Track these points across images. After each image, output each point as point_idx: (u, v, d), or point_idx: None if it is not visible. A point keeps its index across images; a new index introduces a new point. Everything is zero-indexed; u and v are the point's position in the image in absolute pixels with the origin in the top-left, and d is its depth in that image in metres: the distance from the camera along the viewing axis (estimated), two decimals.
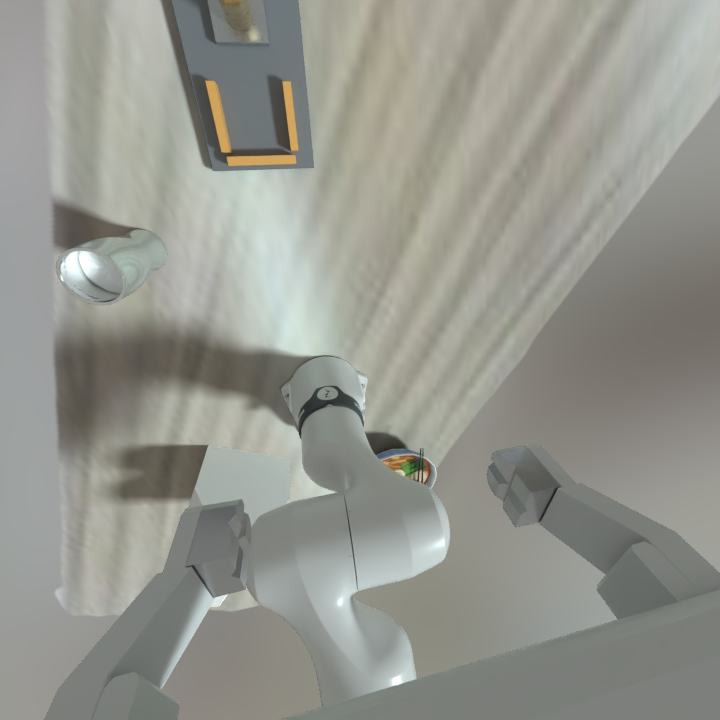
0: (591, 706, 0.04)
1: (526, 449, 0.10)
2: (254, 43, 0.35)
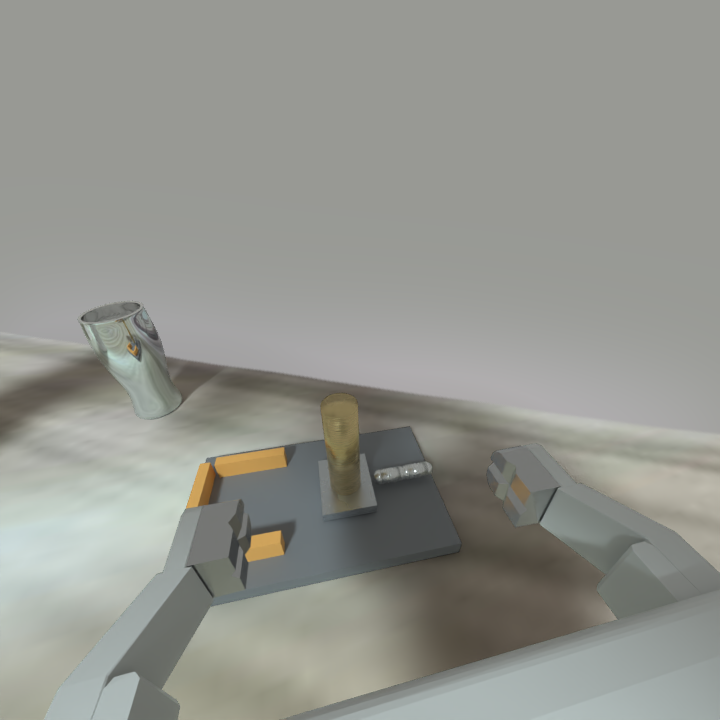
0: (591, 706, 0.04)
1: (526, 449, 0.10)
2: None
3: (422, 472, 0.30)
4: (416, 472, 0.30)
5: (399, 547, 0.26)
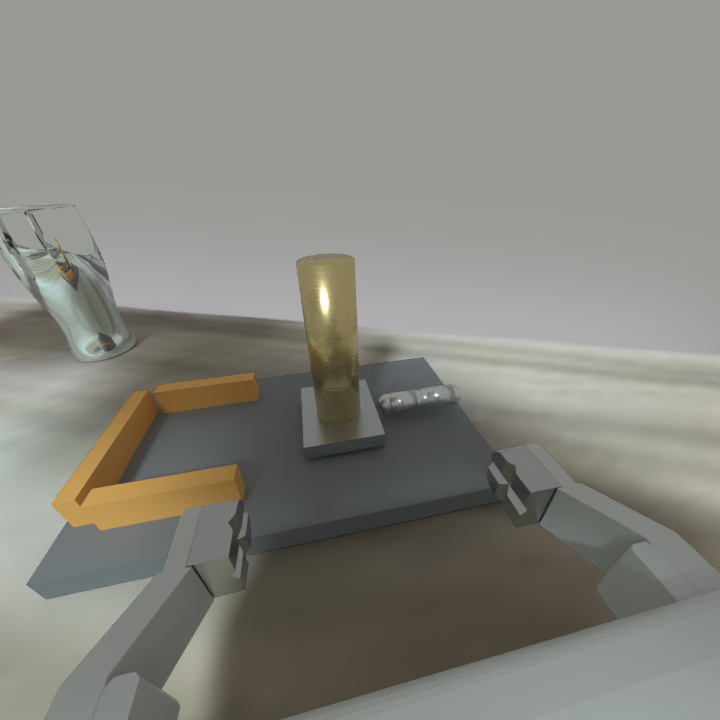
0: (591, 706, 0.04)
1: (526, 449, 0.10)
2: (303, 430, 0.19)
3: (447, 396, 0.21)
4: (439, 396, 0.21)
5: (421, 490, 0.17)
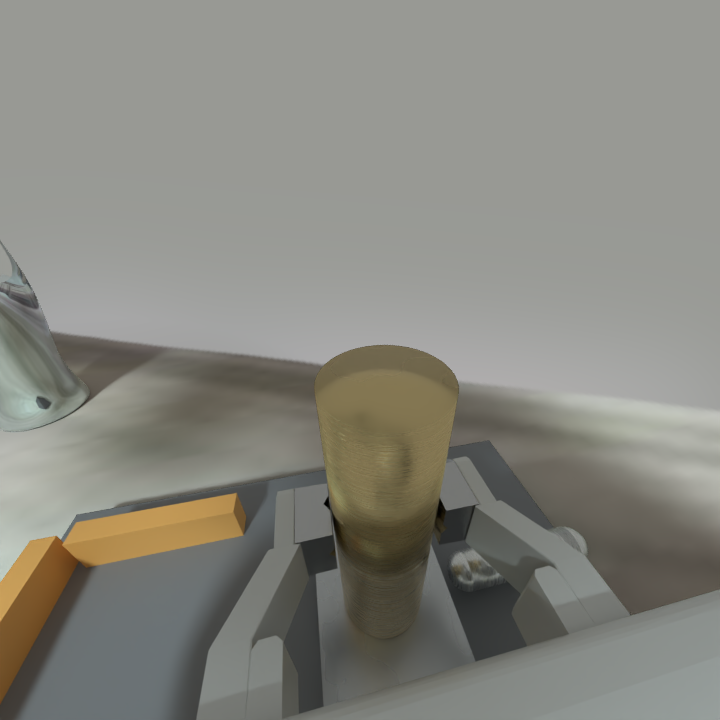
0: (591, 706, 0.04)
1: (453, 462, 0.09)
2: (321, 652, 0.10)
3: None
4: None
5: None
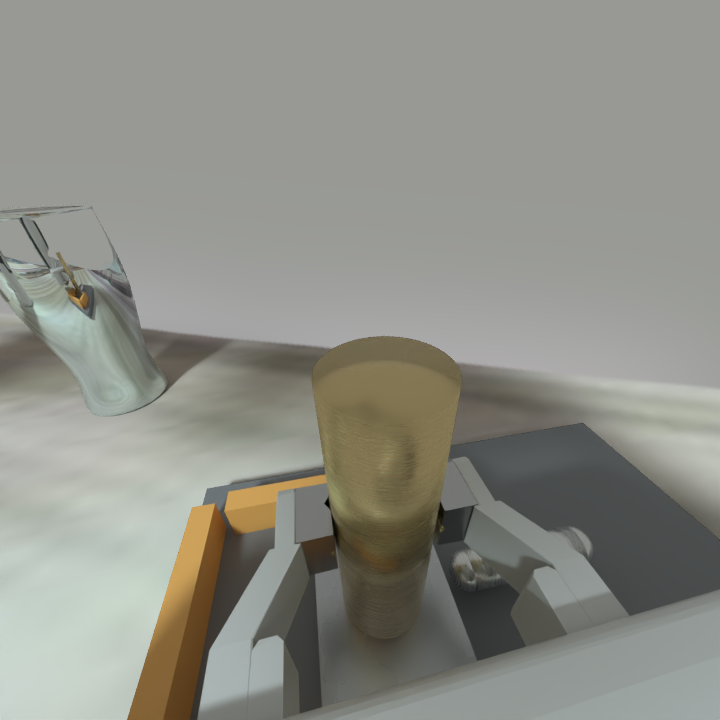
0: (591, 706, 0.04)
1: (452, 462, 0.09)
2: None
3: None
4: None
5: None
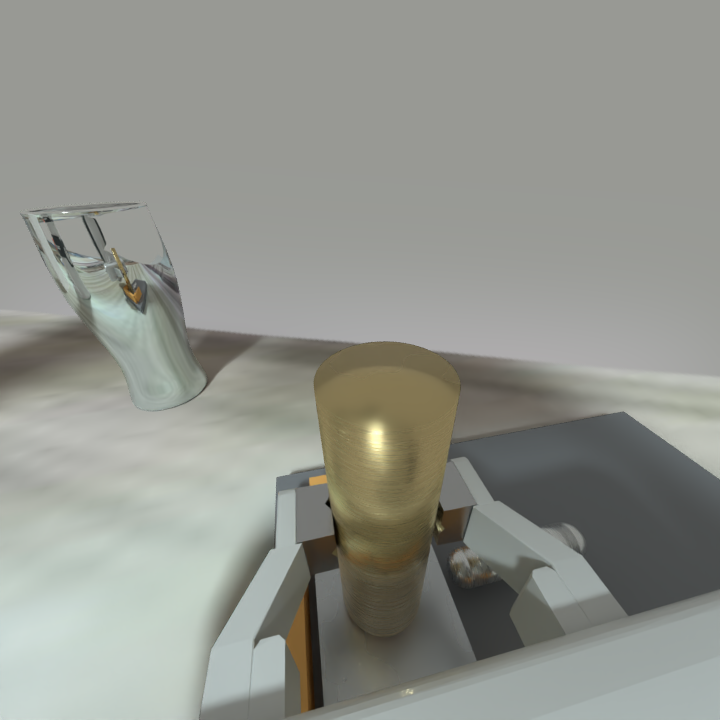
0: (591, 706, 0.04)
1: (451, 463, 0.09)
2: None
3: None
4: None
5: None
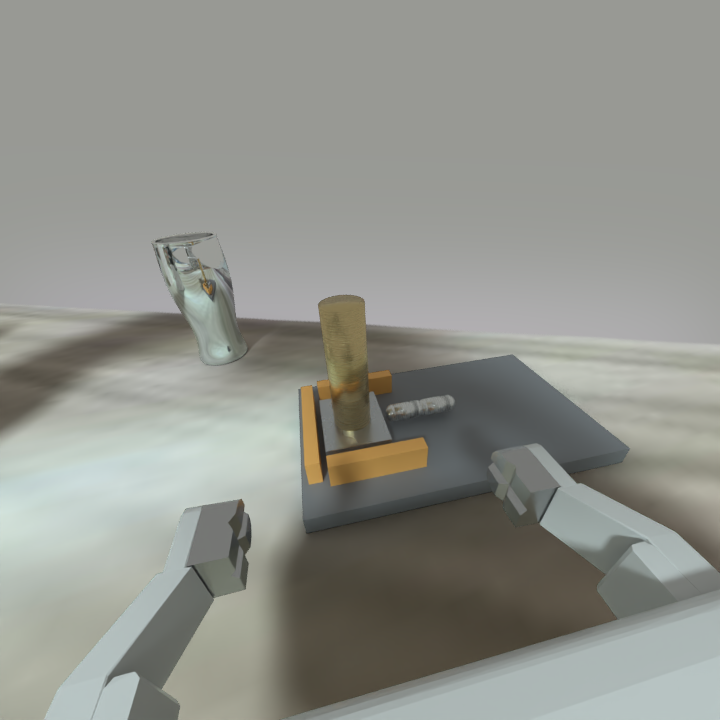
0: (591, 706, 0.04)
1: (526, 448, 0.10)
2: (324, 437, 0.23)
3: (443, 405, 0.25)
4: (436, 405, 0.25)
5: (559, 455, 0.22)
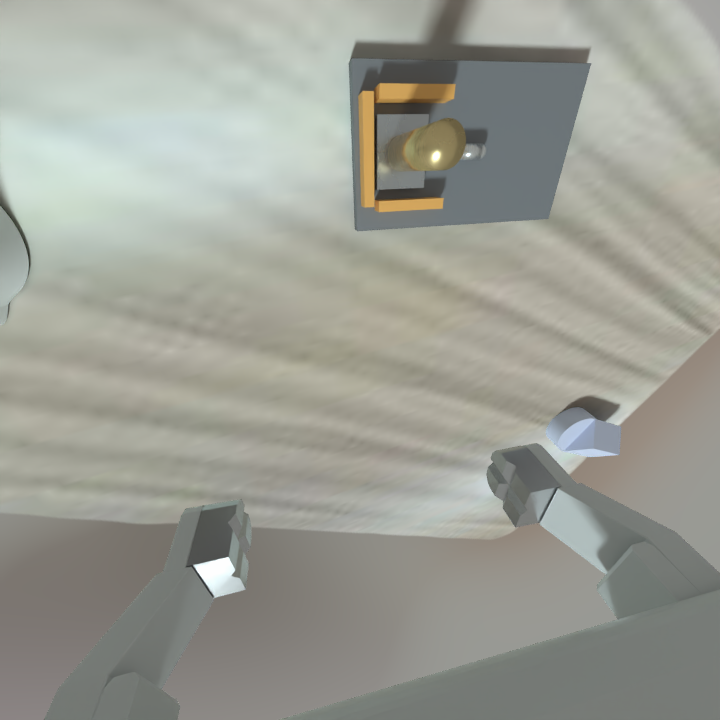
0: (591, 706, 0.04)
1: (526, 449, 0.10)
2: (376, 170, 0.30)
3: (474, 158, 0.31)
4: (469, 158, 0.31)
5: (510, 215, 0.36)
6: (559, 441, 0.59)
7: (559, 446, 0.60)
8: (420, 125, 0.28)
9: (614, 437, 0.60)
